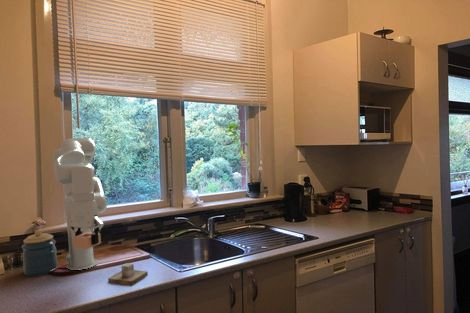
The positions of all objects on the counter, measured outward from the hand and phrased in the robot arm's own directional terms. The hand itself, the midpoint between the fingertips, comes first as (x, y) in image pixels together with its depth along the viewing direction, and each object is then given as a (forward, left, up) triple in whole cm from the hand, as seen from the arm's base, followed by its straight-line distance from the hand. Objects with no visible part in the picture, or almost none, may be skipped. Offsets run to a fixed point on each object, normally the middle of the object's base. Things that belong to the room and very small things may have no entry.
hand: (87, 242), depth 141 cm
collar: (0, 0, -1) cm, 1 cm away
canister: (-31, +5, -16) cm, 35 cm away
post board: (+13, +7, -16) cm, 21 cm away
